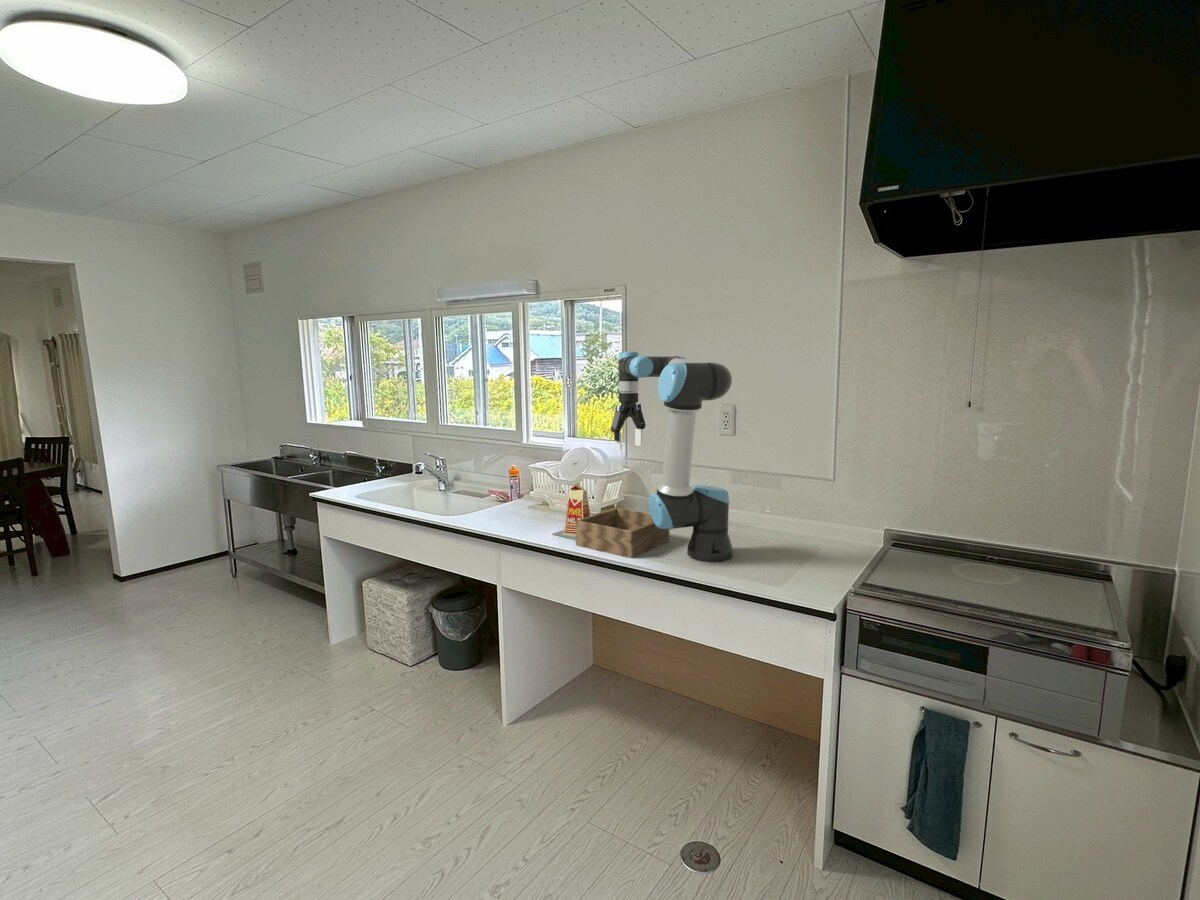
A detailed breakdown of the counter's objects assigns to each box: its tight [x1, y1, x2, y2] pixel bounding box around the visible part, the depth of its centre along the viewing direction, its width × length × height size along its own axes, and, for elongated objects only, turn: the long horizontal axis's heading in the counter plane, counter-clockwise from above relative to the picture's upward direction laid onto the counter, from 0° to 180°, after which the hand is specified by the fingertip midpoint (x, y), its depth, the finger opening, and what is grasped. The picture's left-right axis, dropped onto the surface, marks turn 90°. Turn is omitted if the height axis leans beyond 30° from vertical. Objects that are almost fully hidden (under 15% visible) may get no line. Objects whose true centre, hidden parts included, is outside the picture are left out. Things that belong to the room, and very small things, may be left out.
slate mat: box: [551, 529, 576, 541], centre depth 232 cm, size 14×14×1 cm
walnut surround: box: [575, 507, 670, 559], centre depth 219 cm, size 24×24×9 cm
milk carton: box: [563, 482, 591, 536], centre depth 230 cm, size 9×9×20 cm
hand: (628, 447), depth 236 cm, fingers open, 13 cm apart
